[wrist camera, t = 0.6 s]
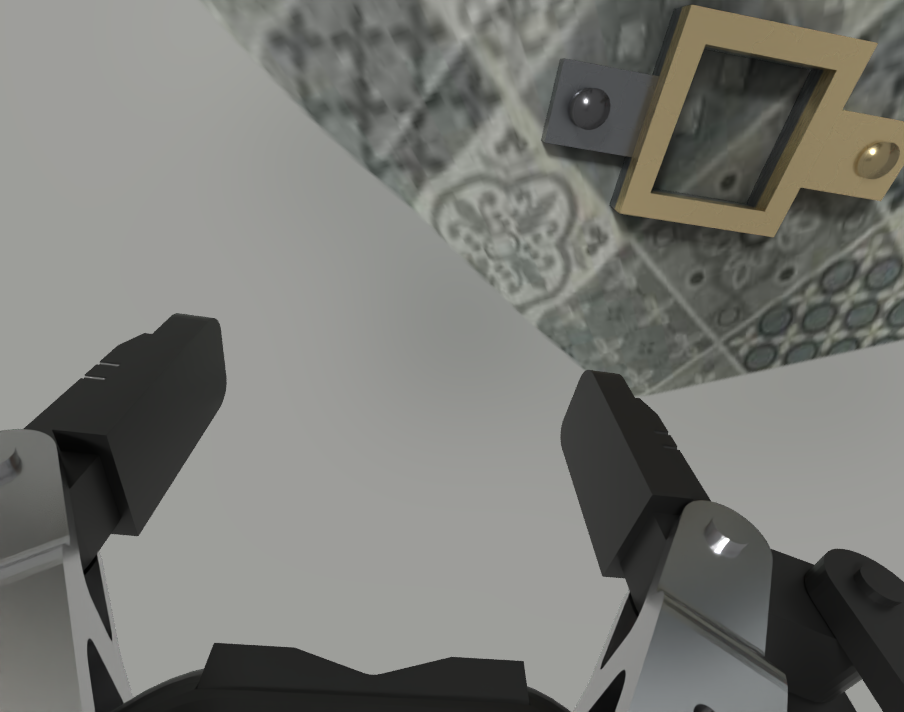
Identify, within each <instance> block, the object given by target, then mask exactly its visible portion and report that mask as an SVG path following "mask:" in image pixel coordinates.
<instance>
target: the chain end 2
mask: <svg viewBox="0 0 904 712" xmlns="http://www.w3.org/2000/svg"><path fill="white" fill-rule="evenodd" d="M877 44H878V43H874V42H869V41H865V40H860V39H855V38H850V37H845V36H841V35H836V34H831V33H826V32H821V31H816V30H812V29H807V28H802V27H797V26H792V25H788V24H783V23H778V22H773V21H768V20H763V19H759V18H754V17H749V16H744V15H739V14H735V13H730V12H725V11H720V10H715V9H710V8H706V7H701V6H696V5H688V6H684V7H682V10H681V13H680V16H679V19H678V22H677V25H676V28H675V31H674V34H673V37H672V40H671V43H670V46H669V49H668V52H667V55H666V58H665V61H664V64H663V67H662V70H661V73H660V76H659V79H658V82H657V85H656V87H655V90H654V93H653V96H652V99H651V102H650V105H649V108H648V111H647V114H646V117H645V120H644V123H643V126H642V129H641V132H640V135H639V138H638V141H637V144H636V147H635V150H634V153H633V156H632V159H631V162H630V165H629V168H628V171H627V174H626V176H625V179H624V182H623V185H622V188H621V191H620V194H619V197H618V200H617V203H616V206H615V210H616V211H617V212H619V213H621V214H627V215H634V216H640V217H646V218H653V219H659V220H666V221H672V222H679V223H685V224H691V225H698V226H704V227H711V228H717V229H724V230H730V231H736V232H743V233H749V234H756V235H762V236H768V237H774V236H775V234H776V232H777V230H778V229H779V227H780V225H781V223H782V221H783V219H784V217H785V216H786V214H787V212H788V210H789V208H790V206H791V204H792V203H793V201H794V199H795V197H796V195H797V193H798V191H799V189H800V188H807V189H813V190H819V191H825V192H830V193H836V194H842V195H848V196H854V197H860V198H866V199H872V200H878V201H881V200H882V199H883V197H884V195H885V194H886V192H887V191H888V189H889V188H890V186H891V184H892V183H893V181H894V180H895V178H896V177H897V175H898V173H899V172H900V170H901V169H902V167H903V166H904V122H903V121H898V120H893V119H888V118H882V117H877V116H872V115H866V114H861V113H856V112H851V111H845V110H842V109H843V108H844V106H845V104H846V102H847V100H848V98H849V96H850V94H851V93H852V91H853V89H854V87H855V85H856V83H857V81H858V80H859V78H860V76H861V74H862V72H863V70H864V68H865V67H866V65H867V63H868V61H869V59H870V57H871V55H872V54H873V52H874V50H875V48H876V46H877ZM704 47H709V48H714V49H719V50H724V51H729V52H734V53H739V54H745V55H750V56H755V57H760V58H765V59H770V60H775V61H780V62H785V63H790V64H795V65H800V66H805V67H810V68H815V69H820V70H823V73H822V75H821V77H820V79H819V81H818V83H817V85H816V87H815V89H814V91H813V93H812V95H811V97H810V99H809V101H808V103H807V105H806V107H805V109H804V111H803V113H802V115H801V117H800V119H799V121H798V123H797V125H796V127H795V129H794V131H793V133H792V135H791V137H790V139H789V141H788V143H787V145H786V147H785V149H784V151H783V153H782V155H781V157H780V159H779V161H778V163H777V165H776V167H775V169H774V171H773V173H772V175H771V177H770V179H769V181H768V183H767V185H766V187H765V189H764V191H763V193H762V195H761V197H760V199H759V201H758V203H757V205H756V207H749V206H742V205H736V204H730V203H724V202H718V201H712V200H705V199H699V198H693V197H687V196H681V195H675V194H668V193H662V192H656V191H651V190H652V187H653V185H654V182H655V179H656V177H657V174H658V171H659V168H660V166H661V163H662V160H663V158H664V155H665V152H666V150H667V147H668V144H669V142H670V139H671V136H672V133H673V131H674V128H675V125H676V123H677V120H678V117H679V115H680V112H681V109H682V107H683V104H684V101H685V98H686V96H687V93H688V90H689V88H690V85H691V82H692V80H693V77H694V74H695V71H696V69H697V66H698V63H699V61H700V58H701V55H702V53H703V50H704Z"/></svg>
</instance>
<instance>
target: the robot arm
mask: <svg viewBox="0 0 904 712" xmlns="http://www.w3.org/2000/svg"><path fill="white" fill-rule="evenodd" d="M225 392H226V370H225V361H224V353H223V345H222V335H221V328H220V324H219V322H218V320H216V319H215V318H208V317H201V316H194V315H187V314H179V313H176V314H174V315H172V316H171V317H170V318H169V319H168V320H167V321H166V322H164V323H163V324H162V325H161V327H159V328H158V329H157V330H156V331H155V332H154V333H153V334H147V333H144V334H142V335H139V336H137V337H135V338H133V339H131V340H129V341H127V342H124V343H122V344H120V345H118V346H117V347H116V348H115V349H113V350H112V351H111V352H110V353H109V354H108V355H107V356H106V357H104V358H103V359H102V360H101V361H100V365H95V366H94V367H93V368H92V369H91V370H90V371H88V372H87V373H86V374H85V378H84V379H82V378H81V379H79V380H78V381H77V382H76V383H75V384H74V385H73V386H71V387H70V388H69V389H68V390H67V391H66V392H65V393H64V394H62V395H61V396H60V397H59V398H58V399H57V400H56V401H55V402H53V403H52V404H51V405H50V406H49V407H48V408H47V409H46V410H44V411H43V412H42V413H41V414H40V415H39V416H37V417H36V418H35V419H34V420H33V421H32V422H31V423H30V424H28V425H27V426H26V427H25V428H24V429H12V430H3V431H0V712H570V711H569V710H568V709H567V708H565V707H564V706H562V705H561V704H559V703H558V702H556V701H555V700H554V699H552V698H550V697H548V696H547V695H545V694H543V693H541V692H539V691H537V690H535V689H533V688H530V687H527V683H526V676H525V669H524V662H523V661H510V660H494V659H477V658H461V657H450V658H446V659H441V660H437V661H433V662H429V663H425V664H421V665H416V666H412V667H409V668H404V669H400V670H396V671H392V672H387V673H384V674H378V675H369V674H365V673H362V672H359V671H356V670H354V669H351V668H348V667H346V666H343V665H340V664H337V663H335V662H332V661H329V660H327V659H324V658H321V657H319V656H316V655H313V654H310V653H307V652H305V651H302V650H300V649H297V648H291V647H274V646H258V645H241V644H224V643H214V645H213V647H212V650H211V652H210V655H209V658H208V660H207V663H206V665H205V668H204V669H201V670H196V671H192V672H189V673H186V674H183V675H180V676H178V677H175V678H172V679H169V680H167V681H165V682H163V683H161V684H158V685H157V686H154V687H152V688H150V689H148V690H146V691H144V692H142V693H141V694H139V695H137V696H136V697H134V698H133V696H132V693H131V688H130V685H129V682H128V678H127V675H126V672H125V669H124V665H123V662H122V658H121V654H120V649H119V645H118V640H117V635H116V629H115V624H114V619H113V614H112V609H111V603H110V598H109V593H108V588H107V583H106V578H105V573H104V568H103V562H102V558H101V555H100V553H99V550H100V549H101V547H102V546H103V544H104V543H105V541H106V540H107V538H108V537H109V535H110V534H120V535H131V536H139V534H140V533H141V531H142V529H143V528H144V526H145V525H146V523H147V522H148V520H149V518H150V517H151V515H152V514H153V512H154V510H155V509H156V507H157V506H158V504H159V503H160V501H161V499H162V498H163V496H164V495H165V493H166V492H167V490H168V488H169V487H170V485H171V484H172V482H173V481H174V479H175V477H176V476H177V474H178V473H179V471H180V470H181V468H182V466H183V465H184V463H185V462H186V460H187V459H188V457H189V455H190V454H191V452H192V451H193V449H194V448H195V446H196V444H197V443H198V441H199V440H200V438H201V436H202V435H203V433H204V432H205V430H206V429H207V427H208V426H209V424H210V422H211V421H212V419H213V418H214V416H215V414H216V413H217V411H218V410H219V408H220V406H221V404H222V402H223V399H224V396H225ZM561 446H562V450H563V453H564V456H565V459H566V462H567V465H568V469H569V472H570V475H571V478H572V481H573V485H574V488H575V491H576V494H577V497H578V500H579V504H580V507H581V510H582V513H583V516H584V519H585V523H586V526H587V529H588V532H589V535H590V538H591V542H592V545H593V548H594V551H595V554H596V557H597V560H598V564H599V567H600V570H601V573H602V576H604V577H616V578H625V579H626V582H627V584H628V587H629V590H628V592H627V593H626V594H625V596H624V598H623V600H622V602H621V605H620V607H619V610H618V612H617V615H616V617H615V620H614V622H613V624H612V627H611V629H610V632H609V634H608V637H607V639H606V642H605V644H604V647H603V649H602V652H601V654H600V656H599V659H598V661H597V664H596V666H595V669H594V671H593V674H592V676H591V678H590V681H589V683H588V685H587V687H586V689H585V691H584V692H583V694H582V696H581V698H580V700H579V701H578V703H577V705H576V707H575V709H574V711H573V712H856V710H855V708H854V707H853V705H852V703H851V702H850V700H849V698H848V696H847V695H846V693H845V691H846V690H847V689H849V688H850V687H852V686H853V685H854V684H856V683H857V682H859V681H860V680H862V679H863V681H864V682H865V684H866V686H867V687H868V689H869V690H870V692H871V693H872V695H873V696H874V698H875V700H876V701H877V703H878V704H879V706H880V707H881V709H882V711H883V712H904V582H903V581H902V580H901V579H899V578H898V577H897V576H896V575H895V574H893V573H892V572H891V571H889V570H888V569H887V568H885V567H884V566H882V565H880V564H879V563H877V562H876V561H874V560H872V559H870V558H868V557H866V556H864V555H861V554H859V553H856V552H853V551H850V550H845V549H833V550H830V551H828V552H827V553H826V554H825V555H824V556H823V557H822V558H821V559H820V560H819V561H818V562H817V563H816V564H815V565H813V564H810V563H808V562H805V561H803V560H800V559H797V558H794V557H791V556H789V555H786V554H783V553H781V552H778V551H775V550H772V549H770V547H769V545H768V543H767V541H766V540H765V538H764V537H763V535H762V534H761V533H760V532H759V530H758V529H756V527H755V526H754V525H752V524H751V523H750V522H749V521H748V520H747V519H746V518H744V517H743V516H741V515H740V514H738V513H737V512H735V511H734V510H732V509H730V508H728V507H726V506H724V505H721V504H718V503H715V502H711V500H710V499H709V497H708V496H707V494H706V492H705V491H704V489H703V488H702V486H701V484H700V483H699V481H698V479H697V478H696V476H695V475H694V473H693V471H692V470H691V468H690V466H689V465H688V463H687V462H686V460H685V458H684V457H683V455H682V453H681V452H680V450H677V445H676V444H675V442H674V440H673V439H672V437H671V436H670V435H668V431H667V429H666V427H665V426H664V424H663V423H662V421H661V419H660V418H659V416H658V415H657V414H656V413H655V412H654V411H653V410H652V409H651V408H650V407H648V405H646V404H645V403H644V402H643V401H642V400H641V399H640V398H635V397H634V395H633V394H632V392H631V390H630V389H629V387H628V385H627V383H626V382H625V380H624V378H623V377H622V376H621V375H620V374H615V373H608V372H600V371H593V370H586V371H585V372H584V373H583V374H582V376H581V378H580V380H579V382H578V385H577V387H576V390H575V392H574V395H573V397H572V400H571V402H570V405H569V407H568V410H567V412H566V415H565V417H564V420H563V423H562V427H561Z"/></svg>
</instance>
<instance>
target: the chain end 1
mask: <svg viewBox="0 0 904 712" xmlns="http://www.w3.org/2000/svg"><path fill="white" fill-rule="evenodd" d="M681 10H682V7H680V8H677V9H674V11H673V14H672V17H671V20H670V23H669V26H668V29H667V32H666V35H665V38H664V41H663V45H662V48H661V51H660V54H659V57H658V60H657V63H656V66H655V69H654V72H653V75H649V74H644V73H638V72H633V71H628V70H623V69H617V68H612V67H607V66H601V65H596V64H591V63H586V62H580V61H575V60H570V59H560V62H559V66H558V71H557V75H556V79H555V83H554V88H553V92H552V96H551V100H550V105H549V109H548V113H547V117H546V122H545V126H544V130H543V134H542V139H541V140H542V141H543V142H545V143H551V144H557V145H563V146H569V147H575V148H580V149H586V150H592V151H598V152H604V153H610V154H616V155H622V156H626V157H625V160H624V163H623V166H622V169H621V172H620V175H619V178H618V181H617V184H616V187H615V190H614V193H613V196H612V199H611V202H610V206H611V207H612V208H614V209H615V206H616V203H617V200H618V197H619V194H620V191H621V188H622V185H623V182H624V179H625V176H626V174H627V171H628V168H629V165H630V162H631V159H632V156H633V153H634V150H635V147H636V144H637V141H638V138H639V135H640V132H641V129H642V126H643V123H644V120H645V117H646V114H647V111H648V108H649V105H650V102H651V99H652V96H653V93H654V90H655V87H656V85H657V82H658V79H659V76H660V73H661V70H662V67H663V64H664V61H665V58H666V55H667V52H668V49H669V46H670V43H671V40H672V37H673V34H674V31H675V28H676V25H677V22H678V19H679V16H680V13H681ZM704 49H707V50H712V51H717V52H722V53H727V54H732V55H737V56H742V57H747V58H752V59H757V60H762V61H767V62H772V63H778V64H783V65H788V66H793V67H798V68H803V69H808V70H811V71H810V73H809V76H808V78H807V80H806V82H805V84H804V86H803V88H802V90H801V92H800V94H799V96H798V98H797V100H796V102H795V104H794V106H793V109H792V111H791V113H790V115H789V117H788V119H787V121H786V123H785V125H784V127H783V129H782V131H781V133H780V135H779V137H778V139H777V142H776V144H775V146H774V148H773V150H772V152H771V154H770V156H769V158H768V160H767V162H766V164H765V166H764V168H763V170H762V172H761V175H760V177H759V179H758V181H757V183H756V185H755V187H754V189H753V191H752V193H751V195H750V197H749V199H748V201H747V203H746V204H745V203H739V202H733V201H727V200H721V199H715V198H709V197H702V196H696V195H690V194H684V193H678V192H672V191H666V190H659V189H653V188H652V190H651V191H656V192H662V193H668V194H675V195H681V196H687V197H693V198H699V199H705V200H712V201H718V202H724V203H730V204H736V205H742V206H749V207H756V205H757V203H758V201H759V199H760V197H761V195H762V193H763V191H764V189H765V187H766V185H767V183H768V181H769V179H770V177H771V175H772V173H773V171H774V169H775V167H776V165H777V163H778V161H779V159H780V157H781V155H782V153H783V151H784V149H785V147H786V145H787V143H788V141H789V139H790V137H791V135H792V133H793V131H794V129H795V127H796V125H797V123H798V121H799V119H800V117H801V115H802V113H803V111H804V109H805V107H806V105H807V103H808V101H809V99H810V97H811V95H812V93H813V91H814V89H815V87H816V85H817V83H818V81H819V79H820V77H821V75H822V73H823V70H820V69H815V68H810V67H805V66H800V65H795V64H790V63H785V62H780V61H775V60H770V59H765V58H760V57H755V56H750V55H745V54H739V53H734V52H729V51H724V50H719V49H714V48H709V47H704Z"/></svg>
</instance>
